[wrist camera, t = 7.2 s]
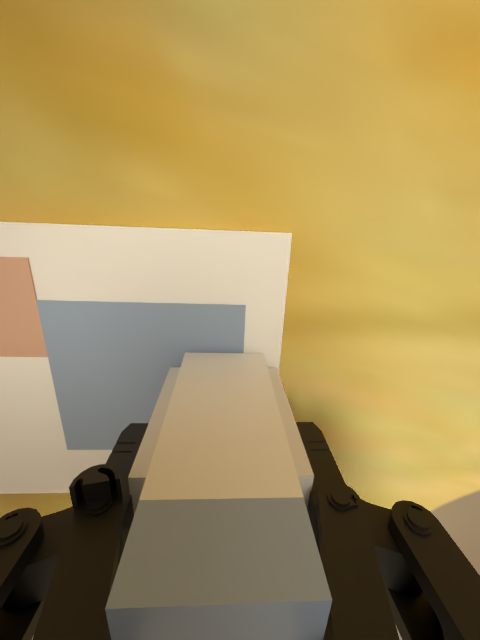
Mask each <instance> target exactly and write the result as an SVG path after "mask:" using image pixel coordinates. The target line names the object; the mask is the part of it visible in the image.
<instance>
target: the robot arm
mask: <svg viewBox="0 0 480 640" xmlns="http://www.w3.org/2000/svg"><path fill="white" fill-rule="evenodd" d="M267 369H268V372H269V376H270V379H271V383H272V386H273V390H274V394H275V397H276V401H277V404H278V408H279V411H280V415H281V419H282V422H283V426H284V429H285V433H286V436H287V440H288V444H289V447H290V451H291V454H292V458H293V461H294V465H295V469H296V472H297V476H298V479H299V483H300V486H301V490H302V494H303V497H304V501H305V504H306V508H307V511H308V515H309V519H310V522H311V526H312V529H313V533H314V536H315V540H316V544H317V547H318V551H319V554H320V558H321V561H322V565H323V568H324V572H325V576H326V579H327V583H328V586H329V590H330V593H331V597H332V604H331V608H330V613H329V617H328V621H327V625H326V629H325V634H324V638H323V640H399V636H398V633H397V629H396V626H397V628H398V630H399V633H400V635H401V637H402V639H403V640H480V575H479V574H478V573H477V571H476V570H475V569H474V568H473V566H472V565H471V563H470V562H469V561H468V559H467V558H466V557H465V555H464V554H463V553H462V551H461V550H460V549H459V547H458V546H457V545H456V543H455V542H454V541H453V540H452V538H451V537H450V535H449V534H448V533H447V531H446V530H445V529H444V527H443V526H442V525H441V523H440V522H439V521H438V520H437V518H436V517H435V516H434V515H433V514H432V513H431V512H430V511H428V510H427V509H425V508H424V507H422V506H421V505H419V504H416V503H414V502H411V501H403V500H402V501H399V502H396V503H395V504H394V505H393V507H392V509H387V508H384V507H380V506H377V505H373V504H370V503H368V502H365V501H363V500H362V499H360V497H359V496H358V495H357V493H356V492H355V491H354V490H353V489H352V488H350V487H348V486H347V485H346V484H345V482H344V480H343V478H342V475H341V473H340V471H339V469H338V467H337V464H336V462H335V460H334V458H333V456H332V453H331V451H330V450H329V447H328V445H327V443H326V440H325V438H324V436H323V434H322V431H321V430H320V429H319V428H318V427H317V426H316V425H315V424H314V423H313V422H295V419H294V416H293V413H292V410H291V407H290V404H289V401H288V399H287V396H286V393H285V390H284V387H283V384H282V381H281V378H280V375H279V372H278V370H277V368H267ZM179 370H180V367H170V369H169V372H168V374H167V377H166V380H165V382H164V385H163V387H162V390H161V393H160V395H159V398H158V400H157V403H156V406H155V408H154V411H153V413H152V416H151V419H150V421H149V423H130V424H129V425H128V426H127V427H126V428H125V429H124V430H123V431H122V432H121V434H120V436H119V438H118V440H117V442H116V444H115V446H114V448H113V450H112V453H111V454H110V456H109V458H108V460H107V462H106V464H99V465H96V466H92V467H90V468H88V469H86V470H84V471H83V472H81V473H80V474H79V475H78V476H77V477H76V478H74V479H73V481H72V483H71V485H70V486H69V490H70V495H71V500H72V504H73V506H72V507H71V508H68V509H65V510H63V511H59V512H56V513H53V514H50V515H46V516H43V517H41V515H40V514H39V512H38V511H37V510H36V509H32V508H22V509H17V510H15V511H12V512H10V513H7V514H6V515H4V516H3V517H1V518H0V640H32V638H33V640H111V636H110V631H109V626H108V621H107V616H106V611H105V608H106V604H107V601H108V598H109V595H110V591H111V588H112V585H113V582H114V579H115V575H116V572H117V569H118V566H119V563H120V559H121V556H122V553H123V550H124V547H125V543H126V540H127V537H128V534H129V531H130V527H131V524H132V521H133V518H134V515H135V511H136V508H137V505H138V502H139V498H140V495H141V492H142V489H143V486H144V482H145V479H146V476H147V473H148V470H149V466H150V463H151V460H152V457H153V454H154V450H155V447H156V444H157V441H158V438H159V434H160V431H161V428H162V425H163V422H164V418H165V415H166V412H167V409H168V405H169V402H170V399H171V396H172V393H173V389H174V386H175V383H176V380H177V377H178V373H179ZM395 624H396V625H395ZM33 636H34V637H33Z"/></svg>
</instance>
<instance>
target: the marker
mask: <svg viewBox="0 0 480 640" xmlns="http://www.w3.org/2000/svg"><path fill="white" fill-rule="evenodd" d="M331 604H332V597H331V593H330V590H329V586H328V583H327V579H326V576H325V572H324V568H323V565H322V561H321V558H320V554H319V551H318V547H317V544H316V540H315V536H314V533H313V529H312V526H311V522H310V519H309V515H308V511H307V508H306V504H305V501H304V497H303V494H302V490H301V486H300V483H299V479H298V476H297V472H296V469H295V465H294V461H293V458H292V454H291V451H290V447H289V444H288V440H287V436H286V433H285V429H284V426H283V422H282V419H281V415H280V411H279V408H278V404H277V401H276V397H275V394H274V390H273V386H272V383H271V379H270V376H269V372H268V369H267V365H266V361H265V358H264V354H263V353H188V352H185V354H184V357H183V361H182V364H181V367H180V370H179V373H178V377H177V380H176V383H175V386H174V389H173V393H172V396H171V399H170V402H169V405H168V409H167V412H166V415H165V418H164V422H163V425H162V428H161V431H160V434H159V438H158V441H157V444H156V447H155V450H154V454H153V457H152V460H151V463H150V466H149V470H148V473H147V476H146V479H145V482H144V486H143V489H142V492H141V495H140V498H139V502H138V505H137V508H136V511H135V515H134V518H133V521H132V524H131V527H130V531H129V534H128V537H127V540H126V543H125V547H124V550H123V553H122V556H121V559H120V563H119V566H118V569H117V572H116V575H115V579H114V582H113V585H112V588H111V591H110V595H109V598H108V601H107V604H106V608H105V611H106V616H107V621H108V626H109V631H110V636H111V640H323V638H324V634H325V629H326V625H327V621H328V617H329V613H330V608H331Z"/></svg>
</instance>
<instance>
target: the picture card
mask: <svg viewBox="0 0 480 640" xmlns="http://www.w3.org/2000/svg"><path fill="white" fill-rule="evenodd" d="M291 240H292V233H286V232H260V231H234V230H208V229H183V228H157V227H131V226H105V225H79V224H54V223H28V222H2V221H0V494H30V493H70V490H69V486H70V485H71V483H72V481H73V479H74V478H76V477H77V476H78V475H79V474H80V473H81V472H83V471H84V470H86V469H88V468H90V467H92V466H96V465H99V464H106V462H107V460H108V458H109V456H110V454H111V453H112V450H113V448H114V446H115V444H116V442H117V440H118V438H119V436H120V434H121V432H122V431H123V430H124V429H125V428H126V427H127V426H128V425H129V424H130V423H149V421H150V419H151V416H152V413H153V411H154V408H155V406H156V403H157V400H158V398H159V395H160V393H161V390H162V387H163V385H164V382H165V380H166V377H167V374H168V372H169V369H170V367H181V364H182V361H183V357H184V354H185V352H188V353H263V354H264V358H265V361H266V365H267V368H277V370H278V372H279V365H280V355H281V345H282V334H283V324H284V313H285V303H286V292H287V282H288V271H289V261H290V250H291Z"/></svg>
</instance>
